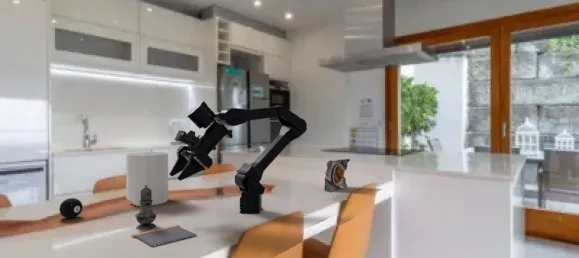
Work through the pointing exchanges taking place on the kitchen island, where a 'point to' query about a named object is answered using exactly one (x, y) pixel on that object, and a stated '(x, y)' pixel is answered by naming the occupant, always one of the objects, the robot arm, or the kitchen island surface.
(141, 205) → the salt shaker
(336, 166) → the grey square flange bearing
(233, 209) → the kitchen island surface
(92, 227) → the kitchen island surface
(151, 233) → the dough scraper
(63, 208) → the billiard ball
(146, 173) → the container
